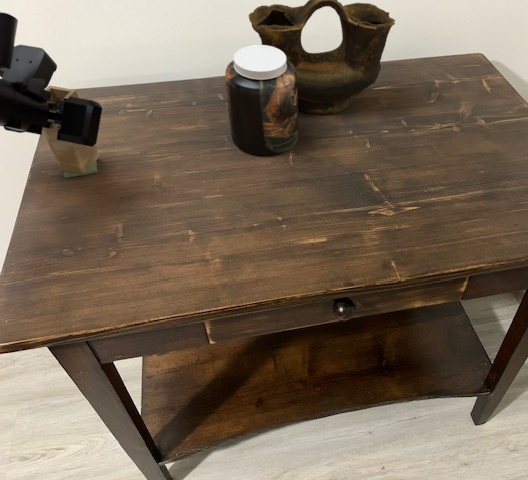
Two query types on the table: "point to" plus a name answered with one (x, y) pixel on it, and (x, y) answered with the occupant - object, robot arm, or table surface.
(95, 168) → the coat peg
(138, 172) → the table surface
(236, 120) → the jar
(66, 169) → the square pencil holder
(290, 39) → the pottery vessel
